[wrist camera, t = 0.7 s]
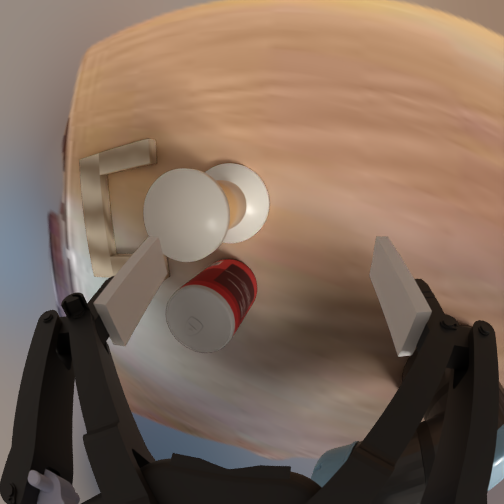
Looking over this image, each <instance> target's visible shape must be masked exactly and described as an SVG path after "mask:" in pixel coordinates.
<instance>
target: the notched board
mask: <svg viewBox="0 0 504 504" xmlns="http://www.w3.org/2000/svg"><path fill="white" fill-rule="evenodd" d="M79 164H80V181H81V194H82V204H83V213H84V221H85V228H86V235H87V241H88V247H89V253H90V258H91V263H92V268H93V273H94V276H95V277H109V278H110V277H112V276H115V275H116V274H117V273H118V271H119V270H120V269H121V268H122V267H123V265H124V264H125V263H126V262H127V261H128V259H129V258H130V257H131V256H132V255H133V254H117V252H116V246H115V239H114V232H113V225H112V218H111V209H110V200H109V189H108V177H107V175H108V174H112V173H116V172H120V171H124V170H129V169H133V168H138V167H142V166H147V165H152V164H157V155H156V140H154V139H145V140H141V141H137V142H134V143H130V144H127V145H123V146H120V147H117V148H113V149H110V150H107V151H104V152H101V153H98V154H95V155H92V156H89V157H86V158H83V159H80V160H79ZM163 257H164V261H165V265H166V269H167V273H168V274H167V275H166V277H165V278H164V280H165V279H167V278H168V277H170V274H169V268H168V261H167V256H166V255H164V254H163ZM164 280H163V281H164Z"/></svg>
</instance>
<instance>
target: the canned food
mask: <svg viewBox="0 0 504 504" xmlns="http://www.w3.org/2000/svg"><path fill="white" fill-rule="evenodd" d="M256 294H257V283H256V278H255V276H254V274H253V272H252V271H251V269H250V268H249V267H248V266H247V265H245V264H244V263H242V262H240V261H237V260H232V259H224V260H219V261H217V262H215V263H213V264H212V265H210V266H209V267H208V268H206V269H205V270H204V271H202V272H201V273H200V274H198V275H197V276H196V277H194V278H193V279H192V280H190V281H189V282H187V283H186V284H185V285H183V286H182V287H181V288H180V289H178V290H177V291H176V292H175V293H174V294H173V295H172V297H171V298H170V299H169V301H168V303H167V307H166V320H167V324H168V326H169V329H170V331H171V332H172V334H173V335H174V337H175V338H176V339H177V340H178V341H179V342H180V343H181V344H183V345H184V346H185V347H187V348H189V349H191V350H193V351H197V352H201V353H211V352H215V351H218V350H220V349H222V348H223V347H224V346H225V345H226V344H227V343H228V342H229V341H230V340H231V338H232V337H233V335H234V334H235V332H236V331H237V329H238V327H239V326H240V324H241V322H242V321H243V319H244V317H245V316H246V314H247V312H248V311H249V309H250V307H251V306H252V304H253V302H254V300H255V298H256Z"/></svg>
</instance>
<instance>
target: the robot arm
mask: <svg viewBox="0 0 504 504" xmlns="http://www.w3.org/2000/svg"><path fill="white" fill-rule="evenodd" d="M167 274H168V273H167V269H166V265H165V261H164V257H163V253H162V249H161V244H160V240H159V237H148V238H147V239H146V240H145V241H144V242H143V243H142V244H141V246H140V247H139V248H138V249H137V250H136V251H135V252H134V254H133V255H132V256H131V257H130V258H129V259H128V261H127V262H126V263H125V264H124V265H123V267H122V268H121V269H120V270H119V271H118V273H117V274H116V275H115V276H112V277H110V278H109V279H108V280H106V281H105V282H104V283H103V285H102V286H101V288H99V290H98V291H97V292H96V293H95V295H94V296H93V297H92V298H91V300H90V301H89V302H88V303H87V302H86V300H85V298H84V296H83V294H82V293H73V294H71V295H69V296H67V297H66V298H65V299H64V300H63V301H62V304H61V306H62V308H63V310H64V312H65V313H66V315H67V316H66V317H59V315H58V313H57V312H56V311H55V310H50V311H46V312H45V313H44V314H42V315H41V317H40V318H39V320H38V323H37V326H36V329H35V332H34V335H33V338H32V342H31V345H30V349H29V352H28V356H27V360H26V363H25V367H24V371H23V376H22V380H21V385H20V390H19V395H18V401H17V406H16V412H15V419H14V427H13V436H12V447H11V450H10V453H9V455H8V458H7V461H6V464H5V468H4V471H3V474H2V478H1V481H0V494H1V496H2V498H3V500H4V501H5V502H6V503H7V504H78V503H79V501H80V498H79V495H78V494H77V493H76V492H75V490H74V488H73V486H72V482H73V452H72V451H73V449H72V415H73V394H74V381H75V380H76V386H77V391H78V396H79V400H80V405H81V410H82V414H83V418H84V422H85V426H86V430H87V434H85V435H83V441H84V445H85V449H86V452H87V455H88V459H89V462H90V465H91V468H92V471H93V473H94V476H95V479H96V482H97V484H98V487H99V489H100V492H101V493H100V494H98V495H96V496H94V497H92V498H91V499H89V500H87V501H85V502H83V503H81V504H487V491H489V490H490V489H491V488H493V487H494V486H495V485H497V484H498V483H499V482H500V481H501V480H502V479H504V388H503V387H502V385H501V384H500V382H499V373H498V357H497V346H496V337H495V331H494V329H493V327H492V326H491V325H490V324H489V323H487V322H485V321H481V320H479V321H476V322H475V323H474V324H473V326H472V327H470V326H467V325H459V324H458V322H457V321H456V319H455V318H453V317H452V316H449V315H446V314H444V312H443V310H442V308H441V306H440V305H439V303H438V301H437V299H436V298H435V296H434V294H433V292H432V291H431V289H430V287H429V286H428V284H426V283H425V282H424V281H423V280H422V279H414V278H413V276H412V275H411V273H410V271H409V269H408V268H407V266H406V264H405V263H404V261H403V260H402V258H401V256H400V255H399V253H398V252H397V250H396V248H395V247H394V245H393V244H392V242H391V241H390V239H389V238H388V237H380V236H376V241H375V247H374V253H373V259H372V264H371V269H370V274H369V276H370V279H371V281H372V284H373V286H374V289H375V291H376V294H377V297H378V299H379V302H380V305H381V307H382V310H383V313H384V316H385V319H386V321H387V324H388V327H389V330H390V333H391V336H392V339H393V342H394V345H395V349H396V352H397V355H398V357H401V356H410V355H411V356H410V358H409V360H408V362H407V364H406V366H405V368H404V372H403V378H402V384H401V386H400V387H399V389H398V391H397V392H396V394H395V395H394V397H393V399H392V400H391V402H390V403H389V405H388V406H387V408H386V409H385V411H384V412H383V414H382V415H381V417H380V418H379V419H378V421H377V422H376V424H375V425H374V426H373V428H372V429H371V431H370V432H369V433H368V435H367V436H366V437H365V439H364V440H363V441H361V442H359V441H355V442H353V443H352V444H350V445H346V446H342V447H338V448H334V449H331V450H329V451H327V452H325V453H324V454H323V455H322V456H321V457H320V459H319V460H318V462H317V464H316V466H315V468H314V471H313V474H312V477H311V479H310V478H308V477H306V476H304V475H301V474H298V473H294V472H290V470H291V467H290V466H262V465H260V466H253V467H246V468H238V469H226V468H223V467H220V466H218V465H215V464H212V463H210V462H207V461H205V460H202V459H200V458H195V457H190V456H184V455H180V454H175V453H173V454H172V458H171V459H163V460H158V461H155V459H154V458H153V456H152V455H151V453H150V452H149V451H148V449H147V447H146V445H145V443H144V440H143V438H142V436H141V434H140V432H139V430H138V427H137V425H136V422H135V420H134V418H133V415H132V413H131V410H130V408H129V405H128V403H127V400H126V397H125V395H124V392H123V389H122V386H121V383H120V381H119V378H118V375H117V372H116V369H115V365H114V362H113V359H112V356H111V352H110V349H109V346H108V344H107V342H106V341H107V339H108V338H109V337H110V338H111V340H112V342H113V344H115V345H120V346H126V344H127V343H128V341H129V339H130V337H131V335H132V333H133V332H134V330H135V328H136V326H137V325H138V323H139V321H140V319H141V317H142V316H143V314H144V312H145V311H146V309H147V307H148V305H149V304H150V302H151V300H152V299H153V297H154V295H155V293H156V292H157V290H158V288H159V287H160V285H161V283H162V282H163V280H164V278H165V277H166V275H167ZM416 347H417V349H416V350H415V348H416ZM414 350H415V351H414ZM423 417H424V420H425V421H423V422H421V420H422V418H423ZM420 422H421V423H420Z"/></svg>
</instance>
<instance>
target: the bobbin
mask: <svg viewBox="0 0 504 504" xmlns="http://www.w3.org/2000/svg"><path fill="white" fill-rule="evenodd" d="M269 207H270V199H269V194H268V190H267V188H266V185H265V183H264V182H263V180H262V179H261V178H260V176H259V175H258V174H257V173H255V172H254V171H253V170H251V169H250V168H248V167H246V166H243V165H239V164H233V163H225V164H220V165H217V166H214V167H212V168H210V169H209V170H207V171H206V172H202V171H200V170H196V169H186V168H181V169H174V170H171V171H168V172H166V173H164V174H163V175H161V176H160V177H159V178H158V179H157V180H156V181H155V182H154V183H153V184H152V186H151V187H150V189H149V191H148V193H147V195H146V199H145V202H144V211H143V215H144V223H145V227H146V231H147V233H148V236H149V237H159V240H160V244H161V249H162V253H163V254H164V255H166V256H167V257H169V258H171V259H174V260H176V261H181V262H193V261H198V260H200V259H203V258H204V257H206V256H208V255H209V254H211V253H212V252H214V251H215V250H216V249H217V248H218V247H219V246H220V245H221V243H222V242H223V243H238V242H242V241H245V240H247V239H249V238H250V237H252V236H253V235H255V234H256V233H257V232H258V231H259V230H260V229H261V228H262V226H263V225H264V223H265V221H266V219H267V217H268V213H269Z"/></svg>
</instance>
